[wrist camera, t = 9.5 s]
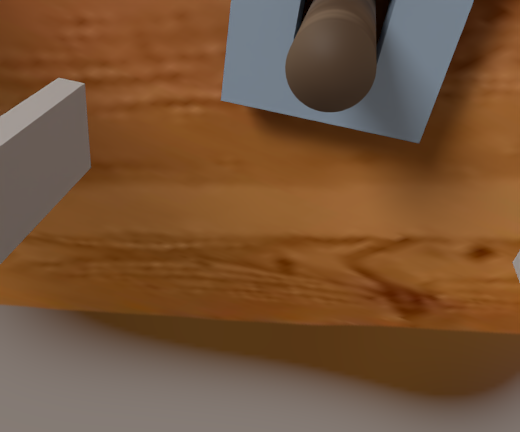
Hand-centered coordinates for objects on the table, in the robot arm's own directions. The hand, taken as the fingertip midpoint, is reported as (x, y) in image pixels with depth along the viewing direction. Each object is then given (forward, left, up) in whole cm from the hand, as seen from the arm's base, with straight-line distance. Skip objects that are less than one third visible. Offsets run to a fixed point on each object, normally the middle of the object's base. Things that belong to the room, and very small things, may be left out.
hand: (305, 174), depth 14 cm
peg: (0, 0, -24) cm, 24 cm away
